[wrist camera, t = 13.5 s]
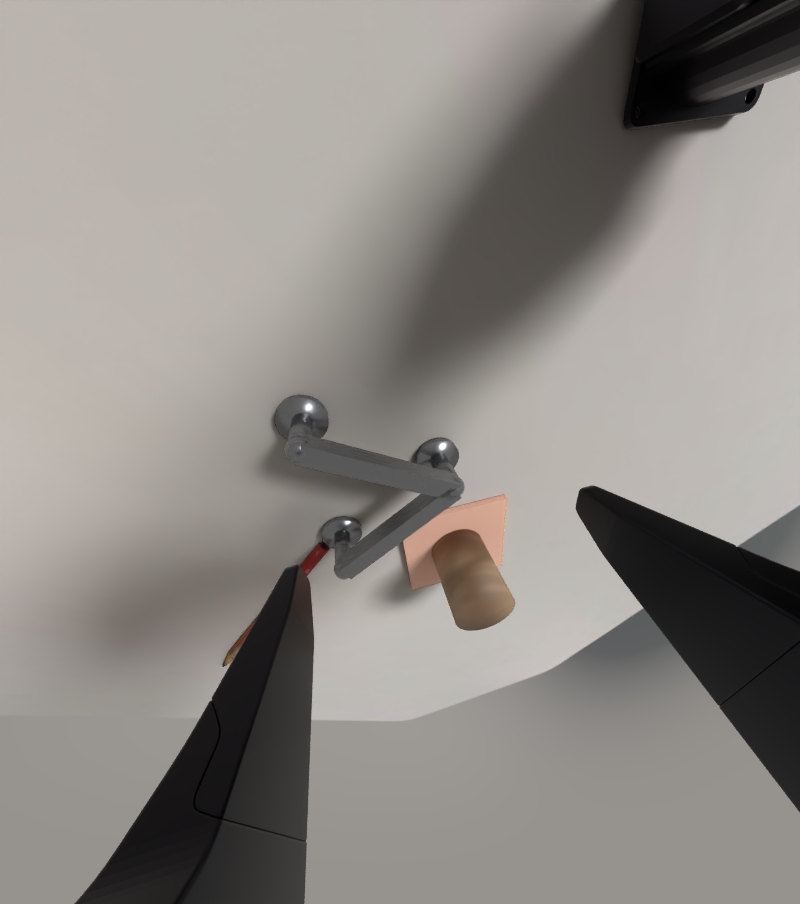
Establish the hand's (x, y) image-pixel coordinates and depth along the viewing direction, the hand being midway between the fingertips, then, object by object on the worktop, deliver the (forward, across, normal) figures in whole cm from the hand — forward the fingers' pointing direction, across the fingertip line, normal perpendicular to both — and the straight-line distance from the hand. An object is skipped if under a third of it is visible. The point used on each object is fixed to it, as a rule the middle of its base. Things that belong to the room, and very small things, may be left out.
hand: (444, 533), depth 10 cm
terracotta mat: (+11, -3, +16) cm, 20 cm away
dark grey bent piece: (+11, +2, +6) cm, 13 cm away
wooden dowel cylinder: (+11, -3, +16) cm, 19 cm away
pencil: (+12, +14, +18) cm, 26 cm away
